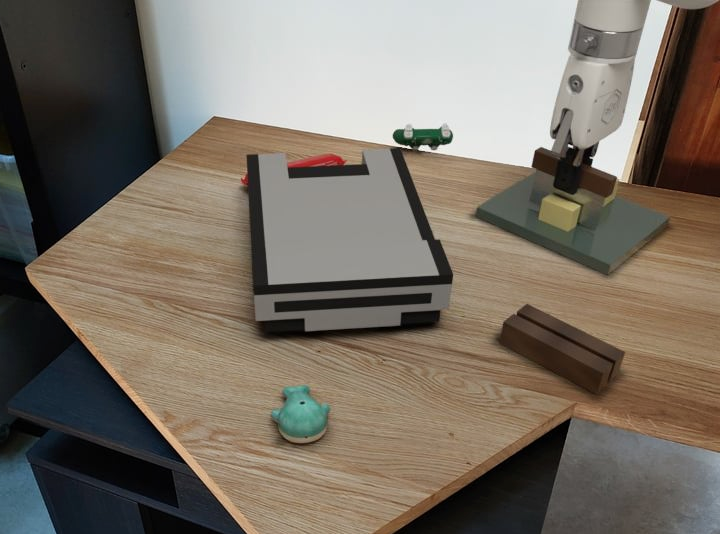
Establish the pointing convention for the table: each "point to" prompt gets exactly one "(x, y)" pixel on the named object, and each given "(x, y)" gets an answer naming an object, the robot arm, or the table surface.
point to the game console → (342, 246)
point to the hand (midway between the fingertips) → (569, 186)
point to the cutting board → (585, 245)
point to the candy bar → (311, 163)
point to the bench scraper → (589, 191)
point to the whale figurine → (301, 416)
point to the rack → (562, 348)
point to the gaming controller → (423, 137)
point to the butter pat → (559, 212)
